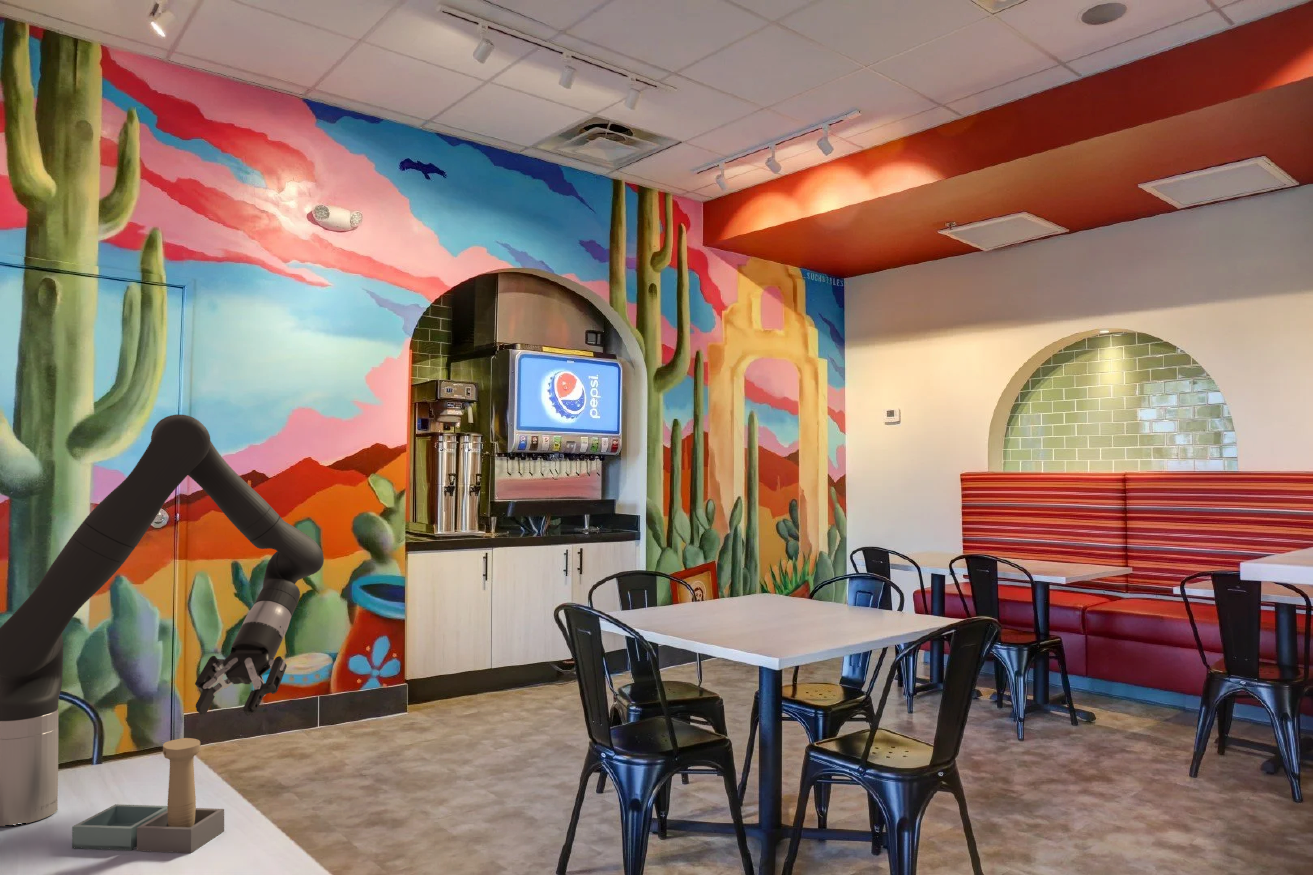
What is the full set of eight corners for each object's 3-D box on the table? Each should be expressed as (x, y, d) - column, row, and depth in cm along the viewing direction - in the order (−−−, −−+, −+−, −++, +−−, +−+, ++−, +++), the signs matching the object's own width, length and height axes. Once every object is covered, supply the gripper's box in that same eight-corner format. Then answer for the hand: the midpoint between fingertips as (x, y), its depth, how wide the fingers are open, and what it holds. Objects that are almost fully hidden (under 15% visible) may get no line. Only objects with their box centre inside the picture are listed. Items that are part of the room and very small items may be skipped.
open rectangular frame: (136, 850, 132) (136, 827, 132) (172, 829, 140) (172, 807, 140) (191, 853, 131) (191, 829, 131) (224, 831, 139) (224, 808, 139)
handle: (172, 851, 131) (172, 751, 132) (157, 840, 136) (157, 743, 136) (205, 841, 135) (205, 744, 135) (190, 830, 139) (190, 736, 140)
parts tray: (72, 848, 133) (72, 826, 133) (115, 824, 142) (115, 804, 142) (130, 850, 132) (130, 828, 132) (170, 826, 141) (170, 806, 141)
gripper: (217, 620, 157) (174, 701, 145) (291, 620, 155) (253, 702, 143) (235, 643, 162) (195, 723, 150) (306, 644, 160) (271, 725, 148)
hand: (223, 713), depth 146 cm, fingers open, 8 cm apart
